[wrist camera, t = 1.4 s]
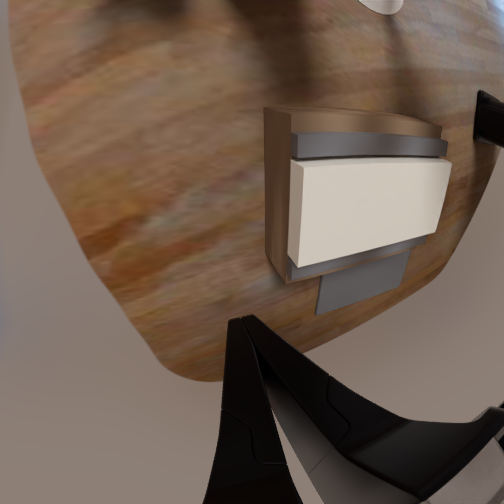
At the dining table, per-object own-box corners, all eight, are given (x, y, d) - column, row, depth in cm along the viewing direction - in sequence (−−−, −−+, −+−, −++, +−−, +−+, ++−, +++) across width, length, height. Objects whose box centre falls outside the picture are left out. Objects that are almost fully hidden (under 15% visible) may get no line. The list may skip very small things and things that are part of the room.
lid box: (406, 115, 19) (449, 129, 15) (389, 226, 25) (421, 252, 21) (263, 107, 16) (298, 115, 12) (265, 252, 22) (290, 291, 18)
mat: (415, 228, 27) (416, 230, 27) (397, 285, 31) (398, 286, 31) (324, 249, 24) (326, 251, 24) (314, 313, 29) (316, 315, 28)
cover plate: (437, 156, 17) (451, 163, 16) (423, 223, 21) (435, 232, 19) (290, 159, 14) (303, 167, 13) (287, 253, 18) (297, 267, 16)
